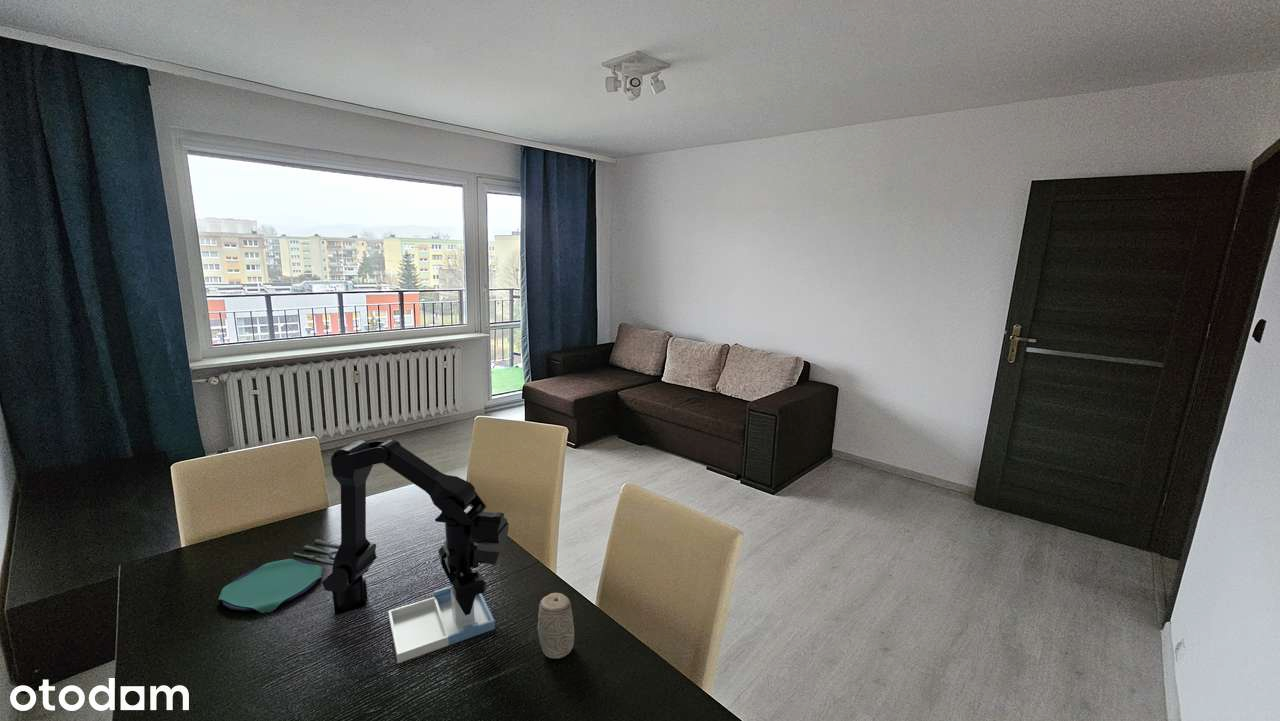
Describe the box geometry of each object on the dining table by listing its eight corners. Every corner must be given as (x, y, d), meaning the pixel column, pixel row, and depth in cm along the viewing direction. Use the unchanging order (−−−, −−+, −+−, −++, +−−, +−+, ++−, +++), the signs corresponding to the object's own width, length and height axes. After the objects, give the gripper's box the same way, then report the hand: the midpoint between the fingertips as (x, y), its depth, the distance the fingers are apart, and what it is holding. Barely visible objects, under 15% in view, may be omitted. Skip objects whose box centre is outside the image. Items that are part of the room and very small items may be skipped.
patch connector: (456, 624, 113) (454, 590, 111) (452, 614, 116) (450, 580, 115) (474, 618, 115) (473, 584, 113) (469, 608, 118) (468, 575, 117)
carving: (541, 639, 110) (541, 589, 108) (576, 641, 110) (576, 591, 107) (534, 662, 104) (534, 609, 101) (571, 663, 103) (571, 611, 101)
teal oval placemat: (199, 606, 118) (198, 597, 117) (313, 541, 146) (312, 534, 146) (265, 625, 112) (264, 615, 112) (370, 554, 141) (370, 547, 141)
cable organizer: (397, 665, 102) (396, 649, 101) (388, 618, 115) (387, 604, 114) (494, 630, 112) (494, 616, 111) (476, 591, 125) (475, 578, 124)
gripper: (509, 549, 109) (510, 614, 111) (484, 512, 124) (486, 570, 127) (454, 564, 103) (458, 632, 106) (436, 523, 118) (439, 584, 121)
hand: (462, 602), depth 115 cm, fingers open, 9 cm apart
